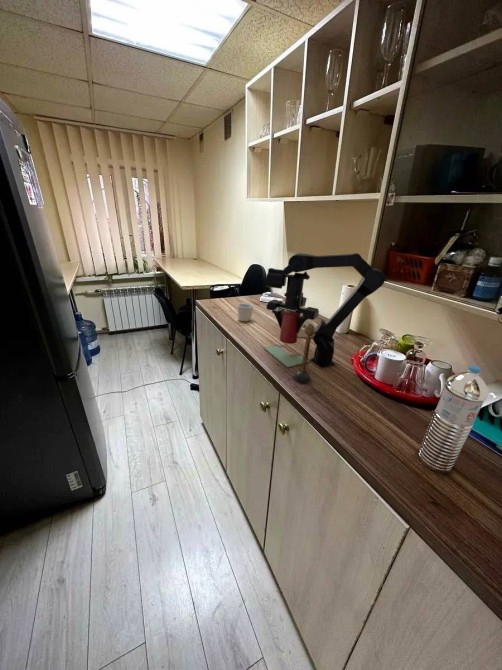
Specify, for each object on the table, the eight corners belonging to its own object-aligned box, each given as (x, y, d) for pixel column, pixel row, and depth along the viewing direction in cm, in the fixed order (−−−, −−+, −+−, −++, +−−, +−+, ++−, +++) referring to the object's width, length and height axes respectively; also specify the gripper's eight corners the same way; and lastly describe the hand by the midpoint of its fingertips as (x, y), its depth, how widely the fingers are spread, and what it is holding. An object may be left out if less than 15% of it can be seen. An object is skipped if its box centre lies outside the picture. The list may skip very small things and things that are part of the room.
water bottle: (438, 450, 66) (478, 359, 56) (458, 474, 60) (507, 377, 50) (410, 449, 66) (446, 358, 56) (428, 474, 59) (472, 376, 50)
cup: (232, 316, 145) (233, 301, 142) (246, 315, 149) (247, 300, 145) (240, 323, 136) (241, 308, 133) (254, 321, 140) (255, 306, 137)
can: (300, 342, 104) (304, 314, 100) (286, 344, 101) (289, 316, 96) (290, 335, 109) (293, 309, 105) (276, 338, 106) (279, 311, 102)
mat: (309, 362, 103) (309, 361, 103) (287, 367, 99) (287, 366, 99) (284, 345, 116) (284, 344, 116) (264, 349, 112) (264, 348, 111)
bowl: (322, 335, 128) (323, 327, 127) (298, 340, 122) (299, 331, 120) (303, 325, 140) (304, 317, 138) (280, 329, 133) (281, 320, 131)
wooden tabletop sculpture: (291, 374, 94) (298, 320, 86) (303, 373, 96) (311, 319, 88) (299, 384, 89) (308, 327, 81) (311, 382, 91) (321, 326, 83)
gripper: (326, 290, 99) (320, 330, 106) (280, 282, 108) (276, 319, 114) (316, 296, 90) (310, 339, 97) (267, 287, 99) (264, 327, 105)
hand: (289, 330), depth 103 cm, fingers closed on can, 6 cm apart
